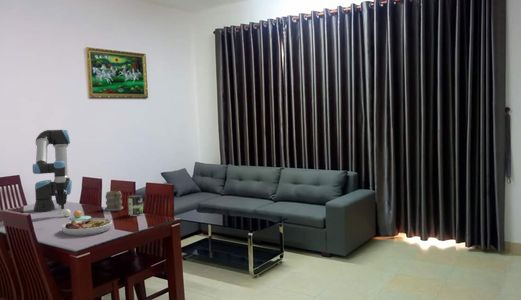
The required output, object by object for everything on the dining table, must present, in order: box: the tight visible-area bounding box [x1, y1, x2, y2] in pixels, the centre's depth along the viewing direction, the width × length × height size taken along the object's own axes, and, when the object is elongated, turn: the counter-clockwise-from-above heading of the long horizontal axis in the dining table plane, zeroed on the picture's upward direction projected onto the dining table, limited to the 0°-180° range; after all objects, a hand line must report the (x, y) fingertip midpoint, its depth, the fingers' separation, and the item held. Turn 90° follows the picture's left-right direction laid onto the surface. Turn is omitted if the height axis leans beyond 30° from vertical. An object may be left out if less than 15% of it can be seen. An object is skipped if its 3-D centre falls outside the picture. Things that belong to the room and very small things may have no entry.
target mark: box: [69, 215, 92, 221], centre depth 310 cm, size 14×14×1 cm
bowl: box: [61, 217, 113, 237], centre depth 275 cm, size 30×30×8 cm
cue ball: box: [62, 208, 72, 218], centre depth 317 cm, size 6×6×6 cm
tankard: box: [104, 190, 124, 212], centre depth 338 cm, size 20×13×15 cm, turn 40°
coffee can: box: [127, 194, 144, 217], centre depth 319 cm, size 10×10×14 cm
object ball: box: [73, 209, 83, 218], centre depth 312 cm, size 6×6×6 cm
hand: (61, 213), depth 319 cm, fingers closed
